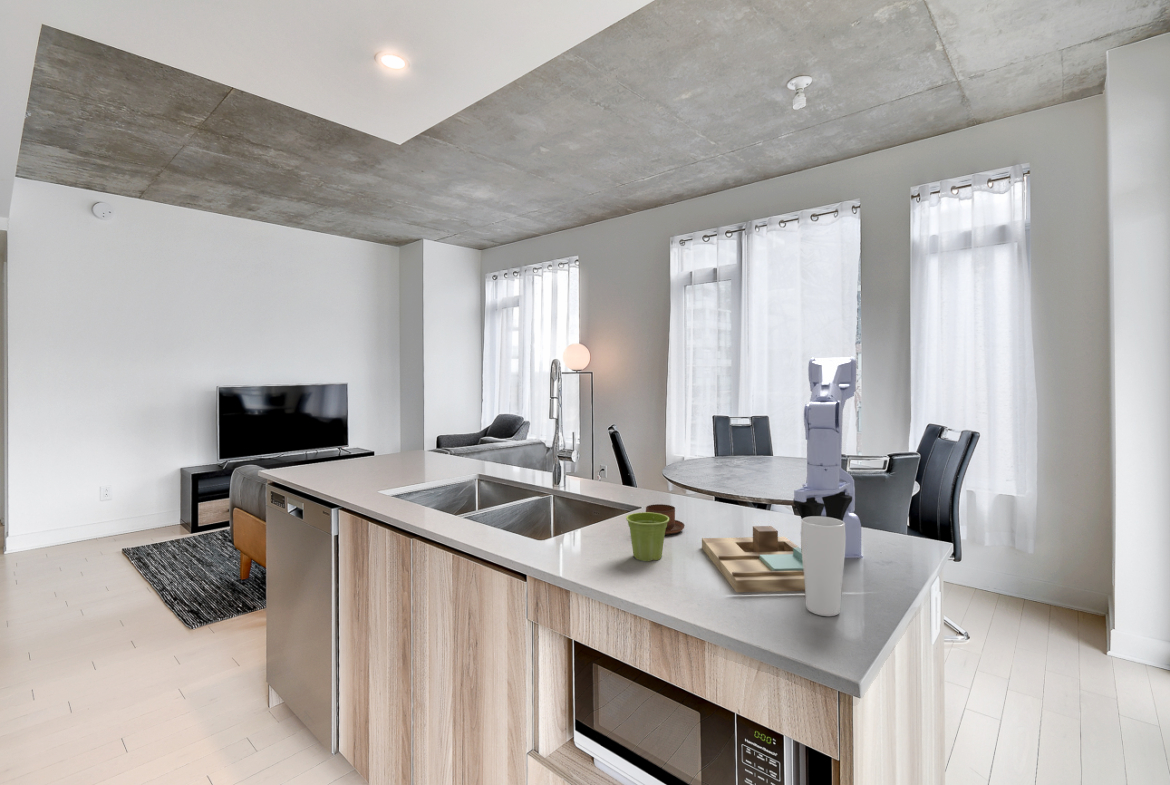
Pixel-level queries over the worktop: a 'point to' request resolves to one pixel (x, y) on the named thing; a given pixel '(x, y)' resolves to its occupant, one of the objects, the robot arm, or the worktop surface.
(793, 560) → the lid
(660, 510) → the cup and saucer
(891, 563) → the worktop surface
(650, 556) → the plant pot
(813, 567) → the drinking glass
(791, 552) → the board
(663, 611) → the worktop surface
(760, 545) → the block
